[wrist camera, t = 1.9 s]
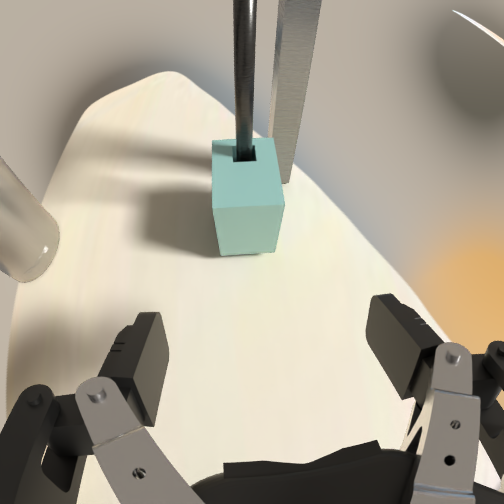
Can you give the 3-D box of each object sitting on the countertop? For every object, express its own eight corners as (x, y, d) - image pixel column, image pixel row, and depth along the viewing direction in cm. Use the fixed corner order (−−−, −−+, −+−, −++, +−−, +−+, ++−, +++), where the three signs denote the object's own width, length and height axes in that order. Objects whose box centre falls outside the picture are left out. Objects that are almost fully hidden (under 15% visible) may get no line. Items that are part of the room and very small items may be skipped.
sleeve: (274, 252, 28) (285, 204, 20) (220, 255, 27) (212, 208, 20) (267, 193, 30) (273, 137, 23) (218, 195, 30) (212, 140, 23)
